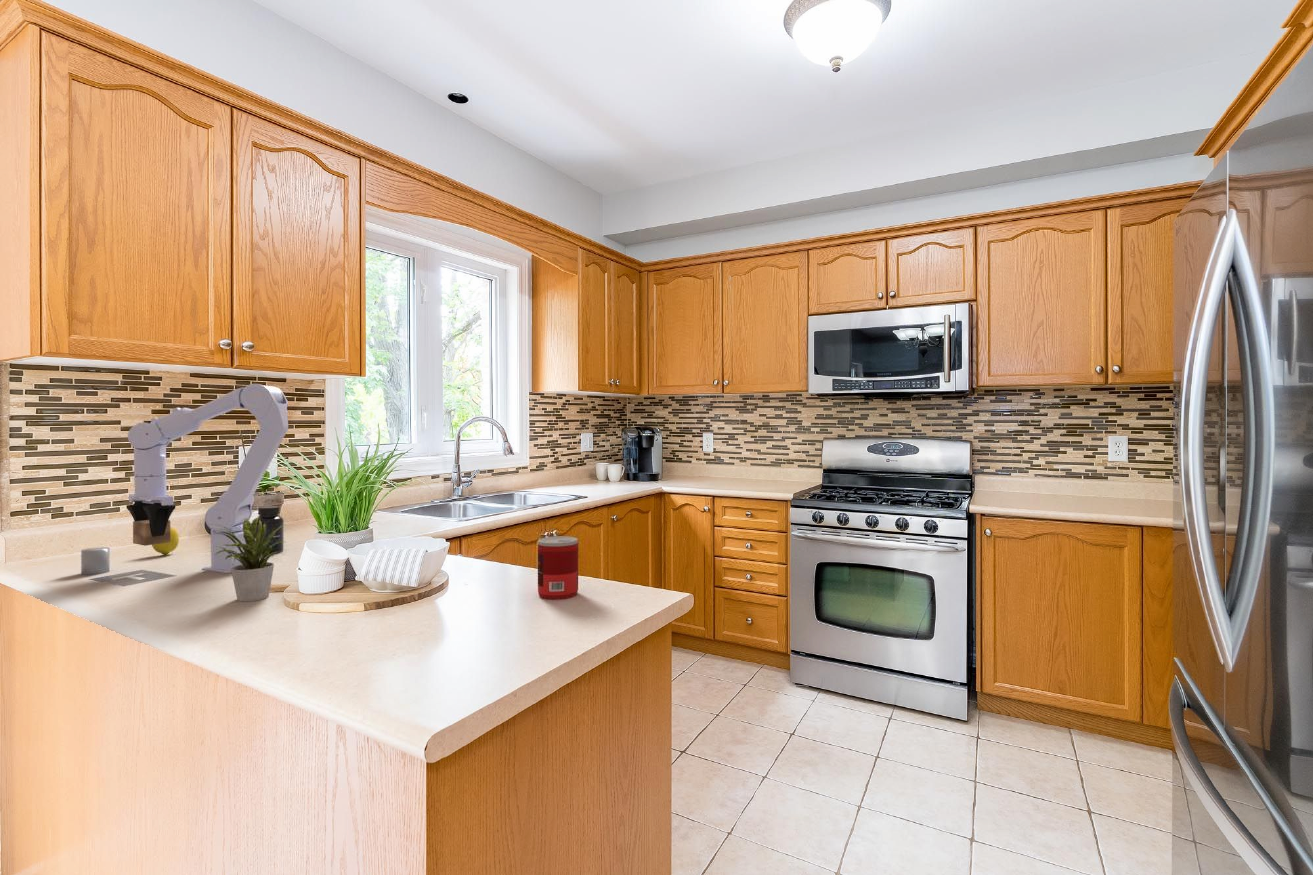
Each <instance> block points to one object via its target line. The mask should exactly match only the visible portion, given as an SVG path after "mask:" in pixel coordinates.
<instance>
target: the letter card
mask: <svg viewBox="0 0 1313 875" xmlns="http://www.w3.org/2000/svg"><path fill="white" fill-rule="evenodd" d="M173 577H177V574H176V575H175V574H170V573H164V572H158V571H157V572H156V571H152V570H146V569H139V570H133V571H127V572H121V573H115V574H111V575H104V576H100V577H99V576H98V577H94V578H89V579H88V581H89V580H90V581H95V582H100V583H105V584H109V585H110V584H111V585H116V586H119V587H120V586H121V587H127V586H132V585H138V584H143V583H148V582H152V581H157V580H158V581H159V580H164V579H168V578H173Z"/></svg>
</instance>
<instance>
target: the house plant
mask: <svg viewBox="0 0 1313 875" xmlns="http://www.w3.org/2000/svg"><path fill="white" fill-rule="evenodd" d="M259 516H260V515H258V516H257V517H255V518H254V519H252V521H250V519H249V520H248V519H246V518H245V521H244V522H243V533H244V535H243V537H244V539H245V542H246V544H242V543H241V541H240V540H239V539H238V538H237V537H236V536H235V535H234V534H233V533H232V532H231V531H230V530H229V529H227V528H226V527H224V526H222V527H224V528H226V529H227V530H229V531H230V533H231V534H230V533H228V532H229V531H228V532H224V531H220V532H224V533H226V534H228V535H226V534H219V535H225V536H227V537H228V538H229V539H231V540H232V541H233V542H234V544H225V546H236V547H238V549H239V550H240V552H241V553H236V552H235V551H232V550H226V549H225V548H222V547H220V548H222V549H224V550H222V551H219V552H217V553H216V554H218V553H220V552H225V551H226V552H227V553H229V554H230V555H228V556H227V557H226V559H227V558H229V557H232V556H233V557H234V561H235V559H237V560H238V561H239V562H241V563H242V564H241V565H237V566H234V567H232V568H231V572H230V573H231V576H232V581H233V585H234V590H235V596H236V601H238V602H254V601H260V600H264V599H267V598H269V596H270V591H271V586H272V578H273V574H274V573H273V572H274V567H275V564H274V562H269V561H268V560H269V559H270V558H271V557H272V556H274V555H275V554H278V552H273V553H271V554H269V553H270V551H271V550H272V546H273V545H275V544H277V543H275V544H273V545H271V546H270V547H268V548H267V550H266V551H265V552H264V554H262V553H263V551H264V550H265V548H266V546H267V545H268V543H269V542H270V540H271V538H272V537H273V535H274V534H275V533H276V532H277V530H278V529H279V528H280V527H279V528H277V529H276V530H274V531H273V532H272V533H271V534H270V535H269V536H268V537H267V538H266V540H265V542H264V543H263V540H264V536H265V533H266V525H265V522H264V524H263V528H262V524H261V521H260V520H259V525H258V533H257V538H256V541H255V534H256V527H257V522H258V519H259ZM211 525H215V524H211ZM283 525H284V527H285V525H286V524H285V523H284V524H283ZM283 525H282V526H283ZM219 526H221V525H219ZM282 526H281V527H282ZM218 530H222V529H218ZM227 530H226V531H227ZM229 535H230V536H231V537H230V536H229ZM233 538H234V539H235V540H236V541H237V542H238V543H237V542H236V541H235V540H234V539H233ZM278 543H282V542H278ZM284 543H286V544H287V542H286V541H284ZM262 544H263V546H262ZM214 547H218V546H214ZM240 547H241V548H242V549H243V550H244V552H245V553H244V552H243V551H242V549H241V548H240ZM231 551H232V552H231ZM234 552H235V553H234ZM231 553H232V554H233V555H232V554H231ZM279 553H281V554H283V551H282V552H281V551H280V552H279ZM216 554H215V555H216ZM242 555H243V556H242ZM245 555H246V556H245ZM238 558H239V559H240V560H241V561H240V560H239V559H238ZM226 559H225V560H226Z"/></svg>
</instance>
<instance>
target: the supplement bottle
mask: <svg viewBox="0 0 1313 875" xmlns="http://www.w3.org/2000/svg"><path fill="white" fill-rule="evenodd" d="M257 509H258V510H257V515H258V516H259V515H260V516H259V519H258V522H257V527H256V534H255V538H257V533H258V525H259V520H260V521H261V524H262V528H263V524H264V522H265V525H266V533H265V536H264V540H263V543H264V542H265V540H266V538H267V537H268V536H269V535H270V534H271V533H272V532H273V531H274V530H276V529H277V528H279V527H280V528H279V529H278V530H277V532H276V533H275V534H274V535H273V537H272V538H271V540H270V542H269V543H268V545H267V546H266V548H265V550H264V551H263V553H262V554H261V555H263V554H264V552H265V551H266V550H267V548H268V547H270V546H271V545H273V544H275V543H277V544H275V545H273V546H272V550H271V551H270V553H269V554H271V553H273V552H278V553H281V552H282V553H283V551H284V547H285V546H284V545H285V544H284V543H285V541H284V539H285V535H284V532H285V526H284V525H285V520H284V518H283V517H282V516H280V506H274V505H270V506H269V505H268V506H259V507H258V508H257ZM283 524H284V525H283ZM282 525H283V526H282ZM281 526H282V527H281ZM278 542H282V543H278ZM262 546H263V544H262ZM280 551H281V552H280ZM278 553H277V554H278ZM269 554H268V555H269Z"/></svg>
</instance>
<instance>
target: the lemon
mask: <svg viewBox="0 0 1313 875" xmlns="http://www.w3.org/2000/svg"><path fill="white" fill-rule="evenodd" d="M179 538H180V537H179V533H178V531H177V529H175V528H174V527H172V526H170V542H167V543H160V544H153V545H151V546H152V548H153V550H154V551H156V552H157V553H159V554H161V555H163V556H168V555H169V554H170V553H172V552H173V551H175V550H176V549H177V547H178V546H179V541H180V539H179Z"/></svg>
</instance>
